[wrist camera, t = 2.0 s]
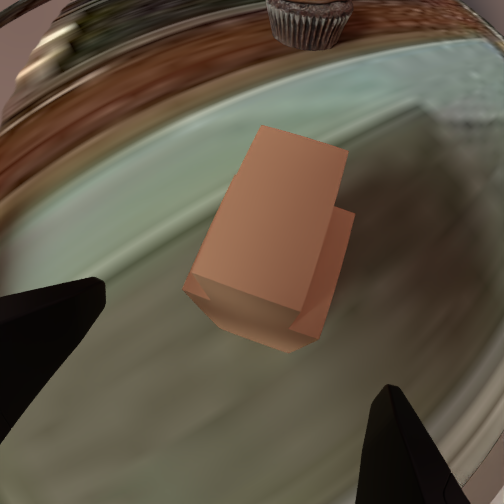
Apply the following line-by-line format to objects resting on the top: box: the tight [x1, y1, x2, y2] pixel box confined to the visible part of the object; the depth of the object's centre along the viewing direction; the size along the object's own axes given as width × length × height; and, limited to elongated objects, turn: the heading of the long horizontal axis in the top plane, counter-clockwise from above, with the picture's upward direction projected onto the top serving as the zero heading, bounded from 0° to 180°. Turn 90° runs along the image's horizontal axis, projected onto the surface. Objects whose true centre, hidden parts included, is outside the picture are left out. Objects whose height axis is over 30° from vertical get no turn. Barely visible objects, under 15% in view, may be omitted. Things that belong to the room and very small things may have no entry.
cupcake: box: [266, 0, 353, 51], centre depth 26 cm, size 10×10×10 cm
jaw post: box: [182, 125, 355, 353], centre depth 14 cm, size 4×4×13 cm
